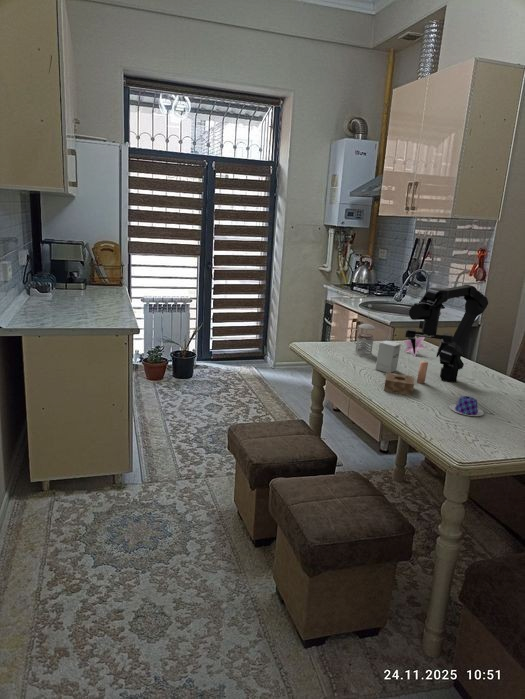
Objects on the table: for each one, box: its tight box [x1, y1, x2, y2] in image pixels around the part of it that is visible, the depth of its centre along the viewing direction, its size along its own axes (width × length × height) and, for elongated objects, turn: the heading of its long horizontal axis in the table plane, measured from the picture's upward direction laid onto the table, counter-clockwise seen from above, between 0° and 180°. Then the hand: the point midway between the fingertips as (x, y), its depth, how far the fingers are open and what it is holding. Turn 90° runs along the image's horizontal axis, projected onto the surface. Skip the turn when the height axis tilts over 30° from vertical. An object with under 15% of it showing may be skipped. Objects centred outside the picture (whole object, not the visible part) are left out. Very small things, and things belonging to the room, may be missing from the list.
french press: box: [351, 304, 376, 358], centre depth 262 cm, size 10×12×25 cm
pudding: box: [449, 395, 484, 417], centre depth 198 cm, size 12×12×5 cm
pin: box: [416, 360, 429, 385], centre depth 227 cm, size 3×3×9 cm
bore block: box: [383, 372, 415, 396], centre depth 216 cm, size 11×11×4 cm
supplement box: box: [375, 340, 402, 374], centre depth 240 cm, size 7×7×13 cm
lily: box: [402, 336, 426, 357], centre depth 275 cm, size 12×12×10 cm
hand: (425, 355), depth 225 cm, fingers open, 9 cm apart
